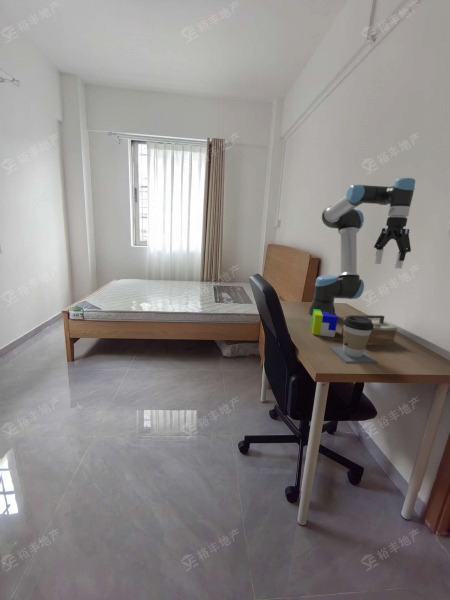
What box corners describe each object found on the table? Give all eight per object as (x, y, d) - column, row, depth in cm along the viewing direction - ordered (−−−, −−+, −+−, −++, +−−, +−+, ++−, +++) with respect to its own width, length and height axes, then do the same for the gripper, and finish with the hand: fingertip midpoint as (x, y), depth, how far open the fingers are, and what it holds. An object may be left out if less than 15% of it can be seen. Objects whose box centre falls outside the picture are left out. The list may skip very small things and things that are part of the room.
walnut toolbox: (340, 333, 135) (344, 311, 132) (375, 333, 138) (379, 311, 135) (355, 344, 123) (360, 320, 120) (393, 344, 125) (399, 320, 122)
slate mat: (329, 348, 118) (329, 346, 118) (357, 348, 120) (357, 346, 119) (345, 362, 105) (346, 361, 105) (376, 362, 107) (377, 361, 107)
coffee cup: (333, 346, 118) (339, 313, 114) (360, 348, 118) (366, 315, 114) (343, 359, 107) (350, 323, 103) (373, 361, 107) (380, 324, 103)
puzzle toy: (334, 337, 131) (337, 317, 128) (312, 334, 132) (315, 314, 130) (330, 329, 140) (334, 311, 138) (310, 327, 142) (313, 309, 139)
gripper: (371, 217, 130) (363, 261, 136) (411, 215, 106) (399, 270, 112) (386, 218, 131) (377, 262, 137) (429, 217, 107) (416, 270, 113)
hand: (387, 265), depth 124 cm, fingers open, 13 cm apart
